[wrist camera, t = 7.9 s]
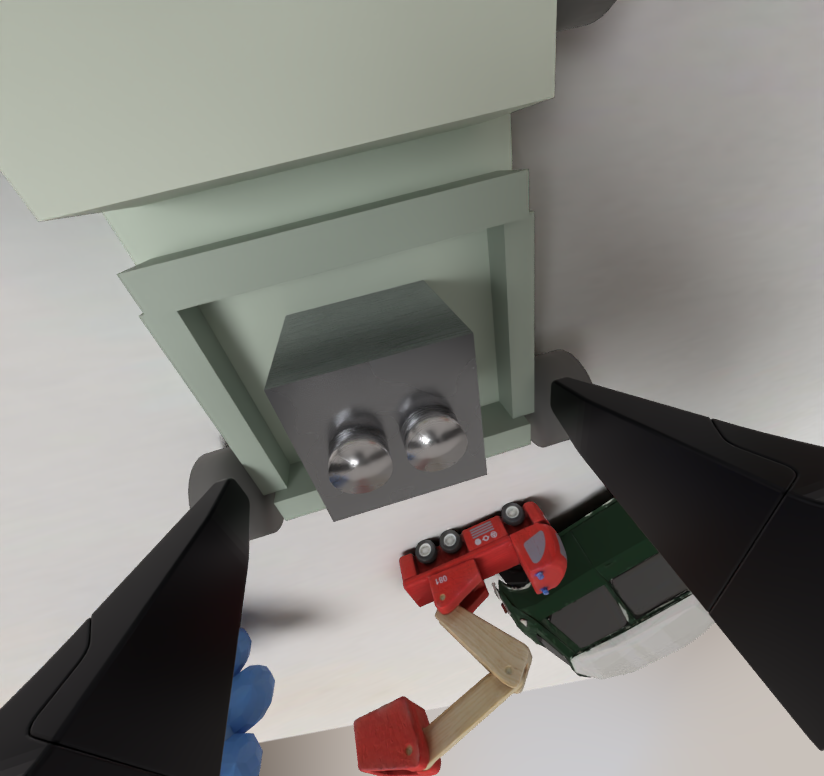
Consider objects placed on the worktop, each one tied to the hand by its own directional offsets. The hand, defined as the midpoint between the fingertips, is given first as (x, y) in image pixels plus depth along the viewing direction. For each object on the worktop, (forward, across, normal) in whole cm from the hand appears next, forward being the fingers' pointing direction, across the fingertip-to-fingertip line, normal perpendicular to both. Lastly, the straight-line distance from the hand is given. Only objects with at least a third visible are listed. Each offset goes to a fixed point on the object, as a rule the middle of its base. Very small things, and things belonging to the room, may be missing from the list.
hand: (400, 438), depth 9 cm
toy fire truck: (+6, -1, +16) cm, 17 cm away
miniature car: (+7, -12, +20) cm, 24 cm away
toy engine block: (+5, 0, 0) cm, 5 cm away
